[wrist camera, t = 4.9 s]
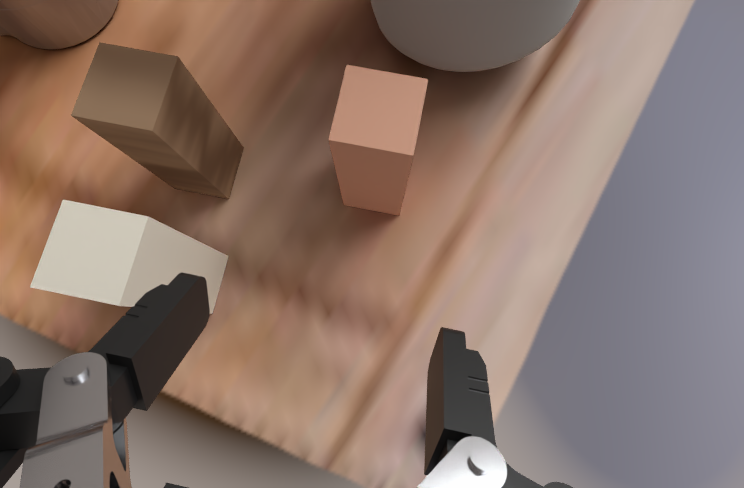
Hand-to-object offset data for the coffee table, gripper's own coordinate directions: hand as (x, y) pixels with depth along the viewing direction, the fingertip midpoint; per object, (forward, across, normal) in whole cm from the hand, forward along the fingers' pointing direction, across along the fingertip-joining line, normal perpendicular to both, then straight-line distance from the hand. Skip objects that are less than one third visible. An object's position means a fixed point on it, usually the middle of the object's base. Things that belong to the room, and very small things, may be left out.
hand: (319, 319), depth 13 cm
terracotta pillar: (+16, 0, +2) cm, 17 cm away
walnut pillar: (+16, +12, +3) cm, 20 cm away
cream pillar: (+10, +11, +9) cm, 17 cm away
